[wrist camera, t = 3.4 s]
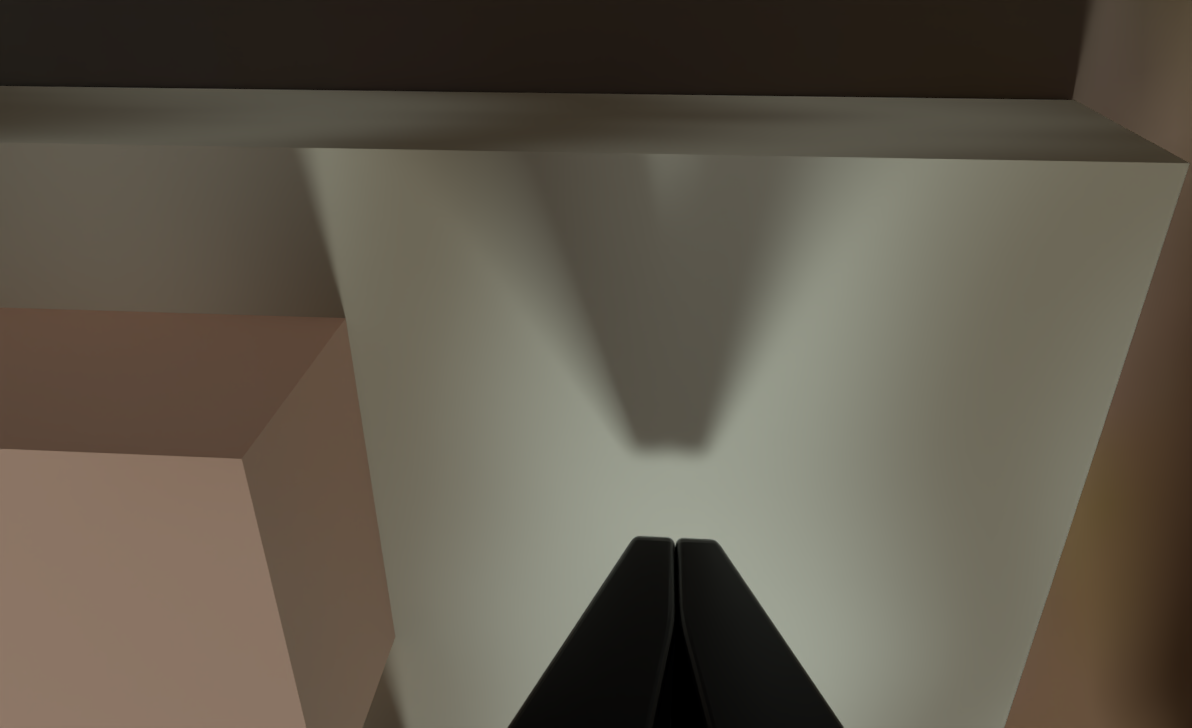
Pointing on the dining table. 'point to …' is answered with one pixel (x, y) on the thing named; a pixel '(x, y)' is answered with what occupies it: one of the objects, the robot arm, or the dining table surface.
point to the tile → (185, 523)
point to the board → (650, 345)
